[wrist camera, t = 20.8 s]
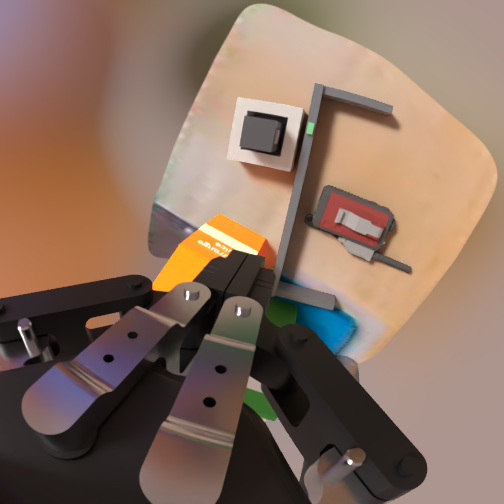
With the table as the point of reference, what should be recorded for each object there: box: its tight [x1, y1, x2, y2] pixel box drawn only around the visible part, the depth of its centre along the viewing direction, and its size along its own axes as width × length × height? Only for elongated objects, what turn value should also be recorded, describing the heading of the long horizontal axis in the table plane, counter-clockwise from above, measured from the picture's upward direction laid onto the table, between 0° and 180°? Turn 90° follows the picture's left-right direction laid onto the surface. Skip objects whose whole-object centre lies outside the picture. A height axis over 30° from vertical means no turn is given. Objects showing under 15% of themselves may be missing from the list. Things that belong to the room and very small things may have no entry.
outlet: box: [227, 97, 305, 172], centre depth 37 cm, size 9×9×4 cm
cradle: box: [271, 83, 393, 310], centre depth 39 cm, size 33×11×4 cm, turn 170°
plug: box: [239, 116, 285, 152], centre depth 35 cm, size 4×4×8 cm
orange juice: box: [153, 214, 266, 292], centre depth 38 cm, size 8×9×20 cm
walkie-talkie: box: [304, 185, 411, 272], centre depth 39 cm, size 9×4×20 cm
